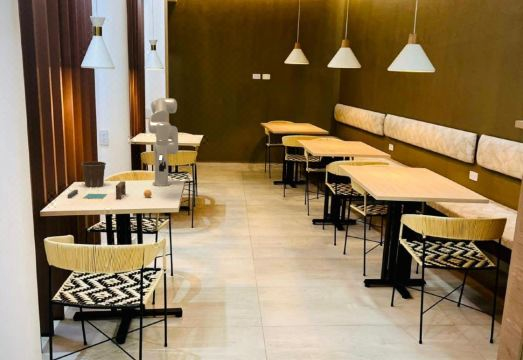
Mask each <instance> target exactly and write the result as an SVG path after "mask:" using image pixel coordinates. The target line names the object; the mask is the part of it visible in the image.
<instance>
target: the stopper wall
mask: <svg viewBox="0 0 523 360" xmlns="http://www.w3.org/2000/svg"><path fill="white" fill-rule="evenodd" d="M78 194H79V190H78V189H73V190H72V191H70V192H69V193H67V199H73V198H74V197H75V196H77V195H78Z"/></svg>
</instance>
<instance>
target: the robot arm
mask: <svg viewBox="0 0 523 360" xmlns="http://www.w3.org/2000/svg"><path fill="white" fill-rule="evenodd" d="M177 108H178V102H177V100H176V99H175V98H170V97H167V98H166V97H165V98H164V97H160V98H157V99H156V100H154V101H152V102H151V104H150V109H151V112H152V114H151V115H150V116H149V117H148V121H147V122H148V123H147V124H148V127H147V128H148V132H149V133H150V134H153V135H155V138H156V139H155V142H153V145H152V149H153V155H154V182H152V186H155V187H156V186H157V187H165V186H166V187H167V186H170V185H171V182H170V181H169V160H168V157H167V155H176V154H177V155H178V152H179V132H178V128H177V127H176V125H175V126H174V125H171V123H170V122H168V117H169V114H175V113H176V112H177Z"/></svg>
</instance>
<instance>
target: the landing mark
mask: <svg viewBox="0 0 523 360" xmlns="http://www.w3.org/2000/svg"><path fill="white" fill-rule="evenodd" d="M107 195H108V194H107V193H88V194H86V195H85V196H84V197H83V199H92V200H93V199H95V200H96V199H98V200H99V199H100V200H101V199H104V198H105V197H106V196H107Z"/></svg>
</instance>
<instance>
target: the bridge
mask: <svg viewBox="0 0 523 360" xmlns="http://www.w3.org/2000/svg"><path fill="white" fill-rule="evenodd" d="M126 190H127V189H126V181H125V180H124V181H121V180H120V181H119V182H118V183H117V184H116V185H115V200H123V199H122V196H126V195H127V194H126Z"/></svg>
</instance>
